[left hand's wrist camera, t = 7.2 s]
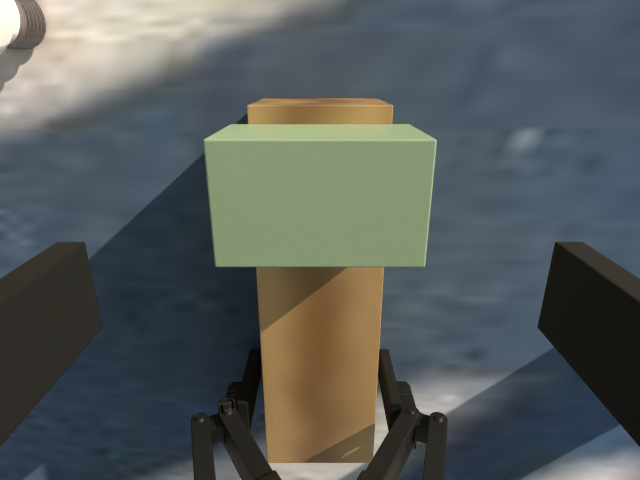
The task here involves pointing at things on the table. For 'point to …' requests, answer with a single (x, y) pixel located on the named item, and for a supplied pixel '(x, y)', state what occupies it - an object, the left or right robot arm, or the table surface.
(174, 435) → the table surface
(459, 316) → the table surface
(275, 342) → the wooden block
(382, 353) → the right robot arm
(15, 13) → the light bulb
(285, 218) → the sage cap block
